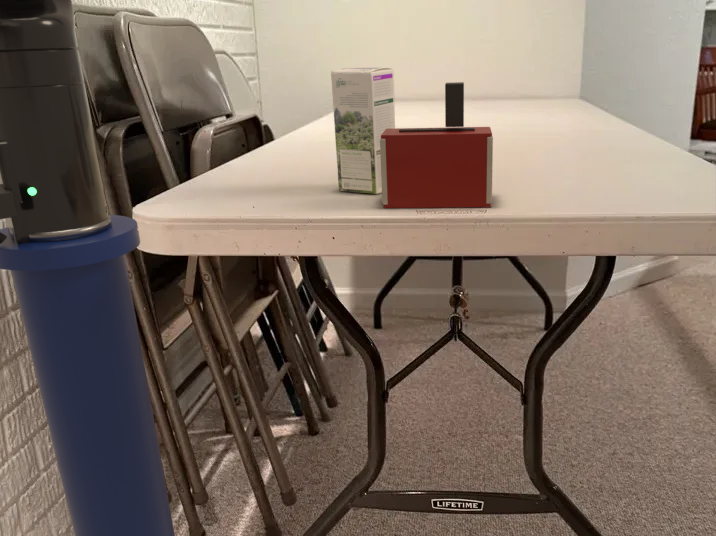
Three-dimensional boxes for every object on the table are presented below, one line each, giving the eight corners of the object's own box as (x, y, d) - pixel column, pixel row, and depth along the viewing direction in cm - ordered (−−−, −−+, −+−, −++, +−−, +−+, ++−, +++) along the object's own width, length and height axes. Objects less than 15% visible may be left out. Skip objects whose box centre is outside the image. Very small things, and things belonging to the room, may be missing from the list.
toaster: (382, 208, 81) (379, 133, 78) (387, 197, 86) (385, 126, 83) (491, 207, 80) (493, 131, 77) (489, 195, 85) (490, 124, 82)
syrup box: (399, 186, 92) (395, 66, 87) (376, 195, 87) (370, 69, 82) (361, 183, 95) (355, 66, 89) (336, 192, 90) (329, 69, 84)
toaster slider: (445, 127, 79) (445, 84, 77) (445, 124, 81) (445, 82, 79) (463, 126, 78) (463, 83, 77) (463, 124, 81) (463, 82, 79)
